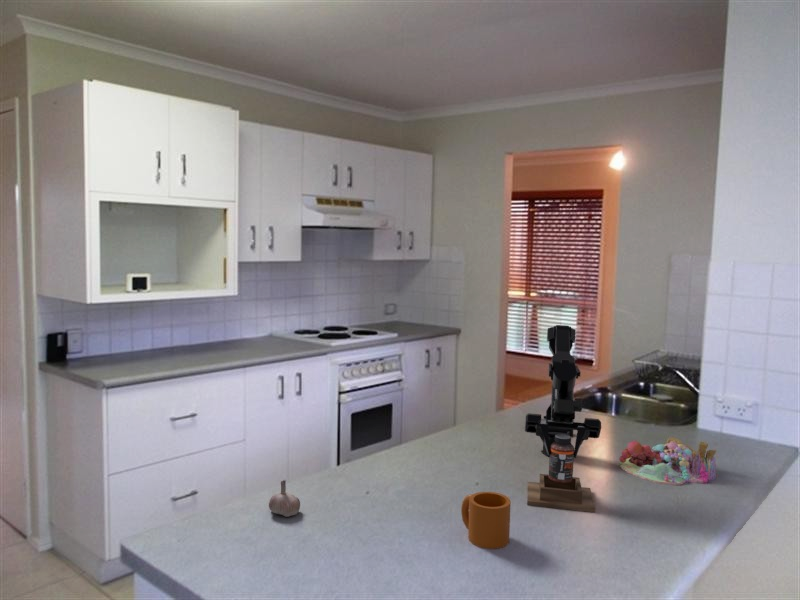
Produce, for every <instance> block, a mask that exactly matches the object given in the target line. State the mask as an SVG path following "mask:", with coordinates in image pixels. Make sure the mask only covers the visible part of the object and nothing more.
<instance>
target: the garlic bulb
mask: <svg viewBox="0 0 800 600" xmlns="http://www.w3.org/2000/svg"><path fill="white" fill-rule="evenodd" d="M286 481H287V480H286V479H282V480H280V492H279V493H276V494H274V495H272V496H271V497H270V499H269V501H268V508H269V510H270V512H272V513H274V514H276V515H280V516H283V517H286V518H288V517H292V516H295V515H297V514H298V513H299V511H300V508H301V501H300V499H299V497H297V496H295V495H294V494H292V493H289V492H287V491H286V490H287V488H286Z"/></svg>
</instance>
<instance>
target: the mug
mask: <svg viewBox="0 0 800 600" xmlns="http://www.w3.org/2000/svg"><path fill="white" fill-rule="evenodd" d="M462 500H463V501H462V504H461V513H460V514H461V518H462V521H463V525H464V526H465V528H466V529H467V530H468V533H467V535H468V536H467V538H468V540H469V542H470V543H471V544H472V545H474V546H476V547H479V548H481V549H485V550H486V549H487V550H496V549H498V550H499V549H501V548H502V549H503V548H505V547H507V545H509V543H510V530H511V529H510V528H511V525H510V524H511V505H512V504H511V503H512V502H511V499H510V498H509V497H508V496H507V495H505V494H502V493H501V492H500V493H499V492H495V491H479V492H478V491H477V492H475V493H472V494H467V495H466V496H465V497H464V498H463V499H462Z"/></svg>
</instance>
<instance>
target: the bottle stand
mask: <svg viewBox="0 0 800 600" xmlns="http://www.w3.org/2000/svg"><path fill="white" fill-rule="evenodd" d="M526 489H527V490H526V491H527V493H526V494H527V497H526V499H527V500H526V502H527V503H526V505H527V506H534V507H543V508H544V507H545V508H553V509H561V510H572V511H578V512H579V511H582V512H590V513H595V512H596V506H595V502H594V498H593V494H592V488H591V487H586V486H582V484H581V479H580V477H576V476H573V477H572V481H571V482H569V483H558V482H554V481H552V480H550V479H549V474H545V473H544V474H543V473H539V482H535V481H527V487H526Z"/></svg>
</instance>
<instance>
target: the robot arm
mask: <svg viewBox="0 0 800 600" xmlns="http://www.w3.org/2000/svg"><path fill="white" fill-rule="evenodd" d="M576 331H577V330H576V329H575V328H572V326H569V325H565V324H564V325H563V324H562V325H561V324H555V325H553V326H551V327H548V328H547V335H546V342H548V349H549V350H550V351H549V352H550V353H551V354H552V356H551V363H548V373H547V375H548V377H550V380H551V381H552V383H551V397H550V398H551V402H550V404H549V405H548V407H547V409H546V411H545V415H543V417H542V414H541V413H532V412H531V413H530V412H528V413H527V414H525V423H524V425H525V427H524V432H526V433H531V434H535V436H537V437H539V438H540V439H541V441H542V449H541V450H540V452H541V453H542V454H544V455H545V456H547V457H548V458H550V446H551V444H552V443H553V442H555V440H554V439H555V435H556V434H565V435H569V436H571V438H573V437H574V431H576V432H577V433H576V435H575V436H576V437H575V444H574V459H577V455H578V453H579V451H580V448H581V445H582V444H583V442H584V441H588V440H589V439H591V438H592V439H599V438H600V437H601V435H600V434H601V430H602V422H601V420H600V419H599V418H591V417H585V418H584V420H583V422H578V421H577V422H575V419H576V412H579V413H581V412H582V409H583V399H582V398H577V397H576V398H574V397H575V396H574V390H575V386H576V380H578V379H579V378H580V377H581V372H582V371H581V370H580V368H579V367H578V364H577V365H576V358H575V357H574V356H573V355H572V354H571V351H572V349H573V346H574V345H573V344H575V343H576V334H577V333H576ZM568 431H569V432H568Z"/></svg>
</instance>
